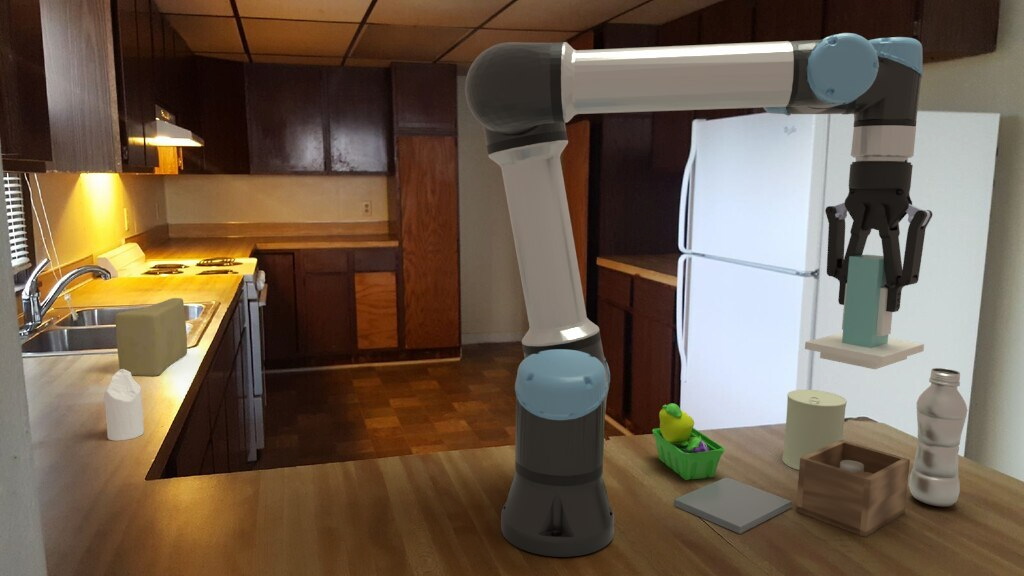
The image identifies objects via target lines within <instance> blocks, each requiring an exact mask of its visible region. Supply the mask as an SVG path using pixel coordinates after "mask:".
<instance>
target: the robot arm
mask: <svg viewBox="0 0 1024 576" xmlns="http://www.w3.org/2000/svg"><path fill="white" fill-rule="evenodd" d="M923 57H924V56H923V45H922V43H921V42H920V41H919V40H917V39H916V38H913V37H905V36H894V37H890V36H889V37H879V38H874V39H873V38H872V39H869V40H868V39H866V38H865V37H863V36H862V35H859V34H857V33H853V32H852V33H851V32H842V33H838V34H837V33H836V34H832V35H831V34H830V36H829V35H828V36H826V37H824V38H823V39H811V40H810V39H809V40H794V41H789V40H785V41H763V42H760V41H759V42H741V43H740V42H739V43H716V44H715V43H714V44H695V45H671V46H648V47H647V46H646V47H623V48H604V49H603V48H602V49H601V48H600V49H579V50H576V49H574V48H573V47H572V45H570V44H569V43H568V42H567V41H563V42H562V41H561V42H558V41H557V42H521V41H519V42H518V41H517V42H516V41H515V42H514V41H512V42H511V41H510V42H502V43H501V42H500V43H498V44H495V45H492V46H490V47H488V48H486V49H485V50H483V51H482V52H481V53H480V54H479V55H477V57H476V58H475V59H474V61H472V64H471V65H470V67H469V69H468V71H467V74H466V78H465V85H464V95H465V98H466V99H465V100H466V103H467V106H468V109H469V110H470V113H471V114H472V115H473V117H474V118H475V119H476V121H477V122H479V123H480V124H481V126H482V128H483V133H484V139H485V144H486V149H487V155H488V158H489V159H490V160H492V161H493V162H494V163H496V164H497V165H498V166H499V167H500V169H501V175H502V179H503V184H504V191H505V195H506V202H507V207H508V214H509V219H510V225H511V231H512V235H513V242H514V247H515V252H516V258H517V264H518V269H519V275H520V281H521V286H522V292H523V299H524V302H525V303H524V304H525V309H526V314H527V320H528V326H529V329H528V330H527V332H526V333H525V335H524V336H523V338H522V339H521V344H522V350H523V356H524V359H523V360H522V361H521V362H520V364H519V365H518V368H517V371H516V373H517V375H516V378H515V383H514V392H515V397H516V398H515V400H516V401H515V404H516V405H515V446H514V447H515V449H514V450H515V451H514V453H515V454H514V455H515V459H514V461H515V462H514V466H515V467H514V475H513V479H512V481H511V483H510V488H509V491H508V494H507V495H508V496H507V499H506V501H505V503H504V504H503V506H502V510H501V512H500V513H501V514H500V531H501V534H502V536H503V537H504V539H505V540H506V541H507V542H508V543H510V544H511V545H513V546H514V547H516V548H518V549H520V550H522V551H526V552H528V553H531V554H535V555H540V556H547V557H555V558H557V557H558V558H569V557H571V558H572V557H579V556H585V555H589V554H592V553H596V552H597V551H600V550H602V549H604V548H606V547H607V546H608V545H609V544H610V543H611V541H612V540H613V539H614V535H615V515H614V512H613V509H612V507H611V506H610V499H609V495H608V492H607V487H606V484H605V481H604V474H603V473H604V472H603V471H604V450H605V449H604V444H605V424H606V423H605V422H606V420H605V419H606V409H607V400H608V399H607V398H608V393H609V389H610V383H611V372H610V367H609V365H608V362H607V359H606V357H605V355H604V349H603V344H602V337H601V333H600V332H601V331H600V327H599V326H598V325H597V324H595V323H594V322H592V321H591V320H590V319H589V318H588V317H587V316H588V315H587V310H586V304H585V299H584V294H583V293H584V292H583V286H582V281H581V274H580V270H579V264H578V262H579V261H578V258H577V252H576V244H575V239H574V233H573V227H572V221H571V215H570V209H569V204H568V199H567V192H566V185H565V180H564V174H563V169H562V164H561V163H562V162H561V156H562V155H561V154H562V153H563V151H564V150H565V148H566V147H567V145H569V144H568V143H569V140H568V135H567V127H566V123H568V122H570V121H571V120H572V119H573V118H574V116H577V115H580V114H581V115H582V114H583V115H585V114H588V115H589V114H610V113H611V114H612V113H613V114H614V113H615V114H616V113H638V112H639V113H641V112H642V113H643V112H670V111H672V112H676V111H694V110H696V111H697V110H698V111H699V110H700V111H702V110H725V109H727V110H728V109H752V108H753V109H755V108H756V109H757V108H760V109H761V108H763V110H764V111H765V112H766V113H769V114H775V115H776V114H777V115H778V114H779V115H785V116H787V117H789V116H791V115H853V119H854V120H853V131H852V133H853V134H852V140H851V141H852V142H851V150H850V151H851V152H850V156H852V158H855V161H852V162H851V163H850V165H849V176H848V194H847V196H846V198H845V200H844V202H842V203H839V204H837V205H829V206H826V207H825V210H824V211H825V215H826V218H827V222H828V232H827V233H828V234H827V235H828V236H827V257H826V274H827V276H829V277H833V278H834V279H836V280H837V281H838V282H839V289H838V299H837V302H838V304H839V305H840V306H841V305H842V306H843V312H842V322H841V323H842V325H841V330H842V331H843V325H844V313H845V302H846V290H847V279H848V267H849V257H850V256H858V255H864V254H863V253H864V251H865V250H864V249H865V247H866V244H867V239H868V237H869V236H870V234H871V232H872V230H876V231H878V236H879V238H880V239H881V246H882V256H883V257H884V266H885V275H886V283H887V284H886V285H884V286H885V287H883V288H880V297H879V308H878V319H877V329H876V336H885V335H888V336H889V335H891V332H892V331H891V330H892V322H893V321H892V320H893V313H896V312H899V310H900V308H901V298H902V292H903V291H902V290H903V288H904V287H906V286H912V285H915V284H917V283H918V282H919V277H920V270H921V263H922V256H923V249H924V243H925V235H926V229H927V227H928V225H929V223H930V221H931V219H932V217H933V212H932V211H931V210H929V209H922V208H920V207H917V206H916V205H913V201H912V199H911V196H910V191H911V188H912V187H911V186H912V177H913V176H912V175H913V164H912V162H911V161H909V158H913V157H914V153H915V143H916V132H917V117H918V109H919V100H920V92H921V87H922V79H923V74H924V73H923V61H924V60H923V59H924V58H923ZM847 213H848V214H849V215H850V218H851V219H852V225H851V228H850V237H849V241H848V244H847V248H846V250H845V244H846V243H845V242H846V238H845V237H846V218H847V216H848V214H847ZM906 215H907V216H908V217H907V222H908V223H909V225H908V228H907V233H906V240H905V241H906V242H905V246H904V247H905V248H904V255H903V264H902V255H901V246H900V238H899V237H900V233H901V232H900V224H899V223H900V222H901V221H902V220H903V219H904V217H906ZM845 251H846V252H845Z"/></svg>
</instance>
